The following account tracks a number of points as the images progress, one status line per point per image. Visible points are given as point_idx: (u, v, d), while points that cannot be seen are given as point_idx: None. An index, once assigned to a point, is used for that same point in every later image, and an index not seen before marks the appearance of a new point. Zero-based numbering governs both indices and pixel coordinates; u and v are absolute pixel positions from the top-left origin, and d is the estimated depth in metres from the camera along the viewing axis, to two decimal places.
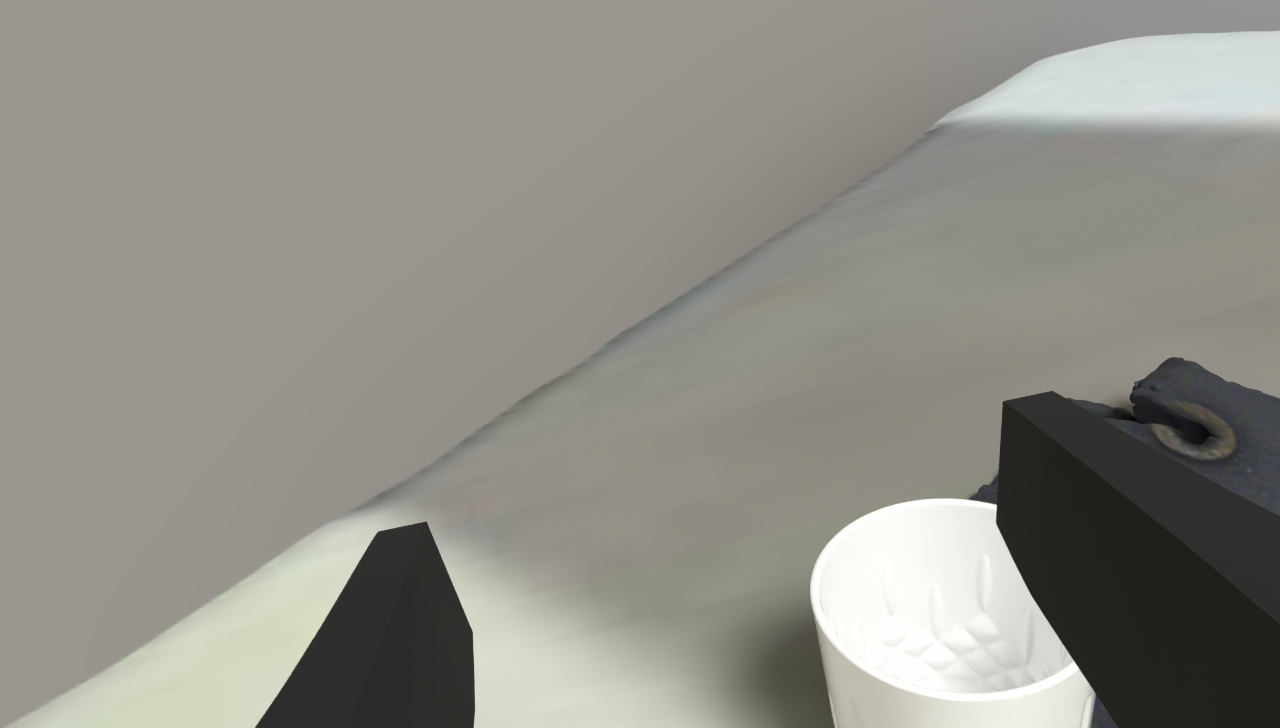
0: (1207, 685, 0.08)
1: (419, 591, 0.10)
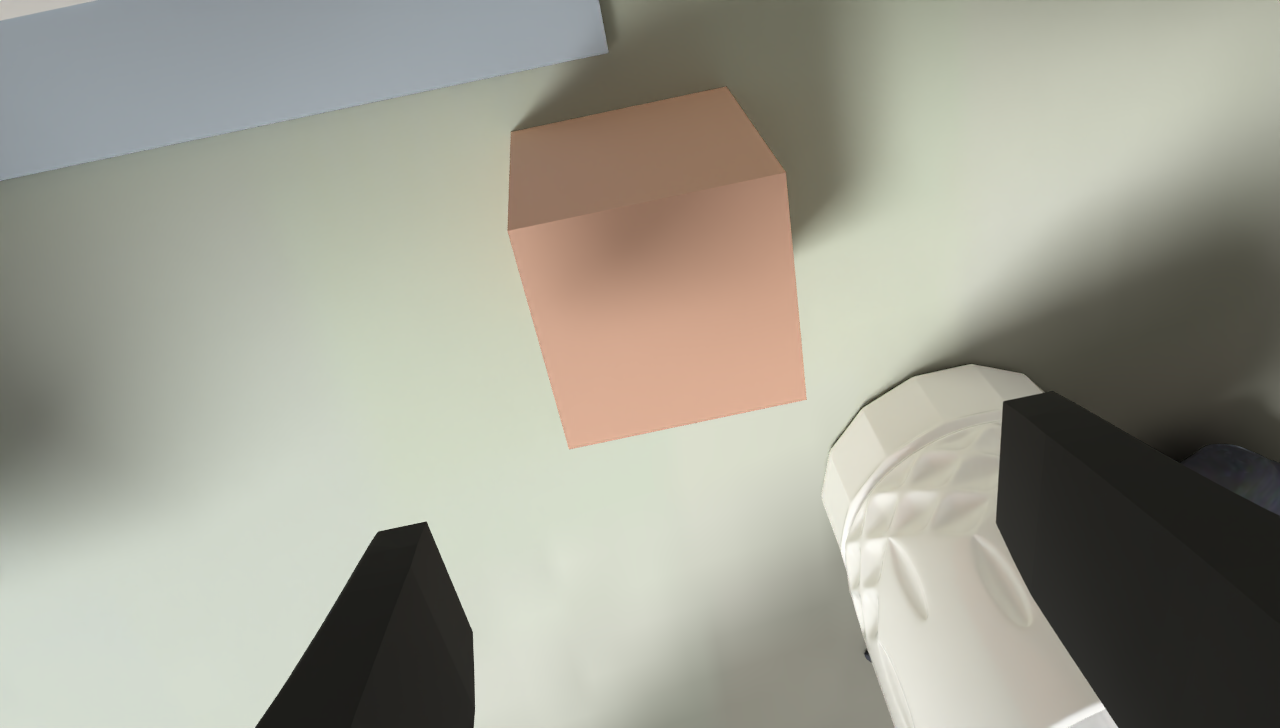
0: (1207, 685, 0.08)
1: (419, 591, 0.10)
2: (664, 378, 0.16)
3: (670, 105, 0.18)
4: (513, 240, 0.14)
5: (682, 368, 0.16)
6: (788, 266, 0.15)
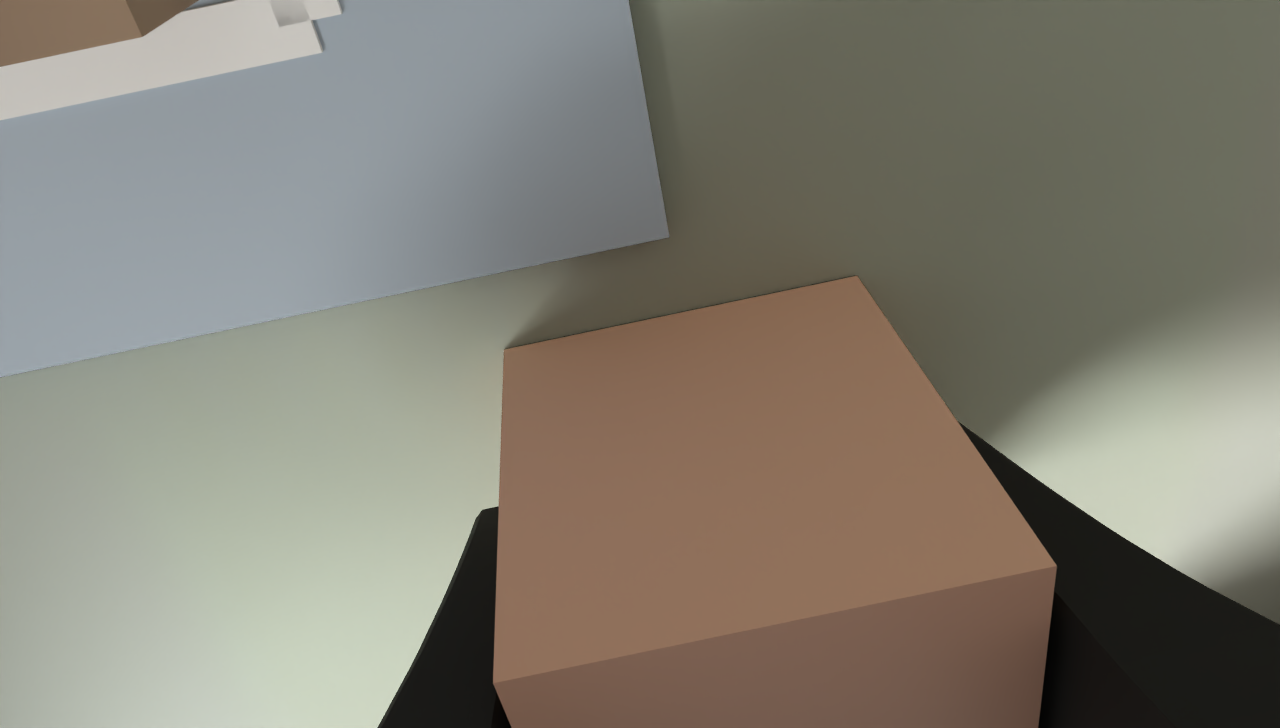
0: (1065, 714, 0.08)
1: None
2: None
3: (770, 316, 0.11)
4: (505, 697, 0.07)
5: None
6: (1031, 701, 0.08)
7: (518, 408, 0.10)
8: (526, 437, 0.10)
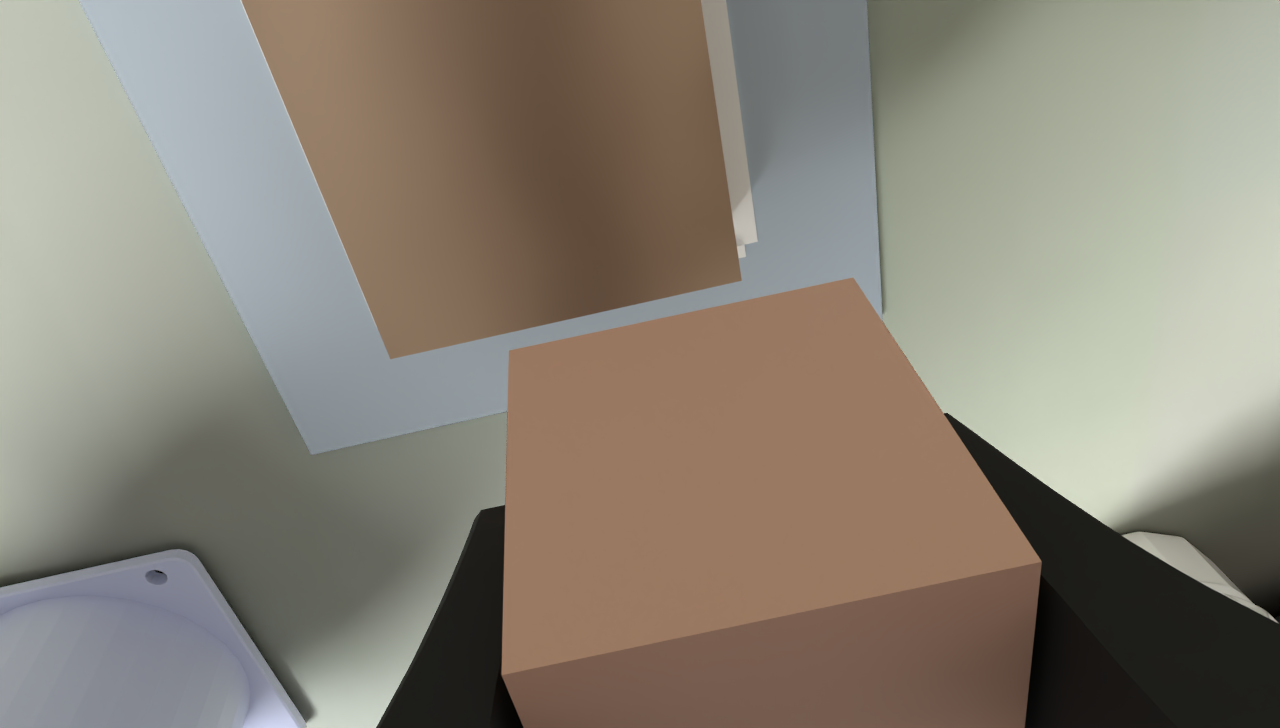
0: (1065, 714, 0.08)
1: None
2: None
3: (768, 318, 0.11)
4: (513, 688, 0.07)
5: None
6: (1018, 691, 0.08)
7: (523, 408, 0.10)
8: (531, 437, 0.10)
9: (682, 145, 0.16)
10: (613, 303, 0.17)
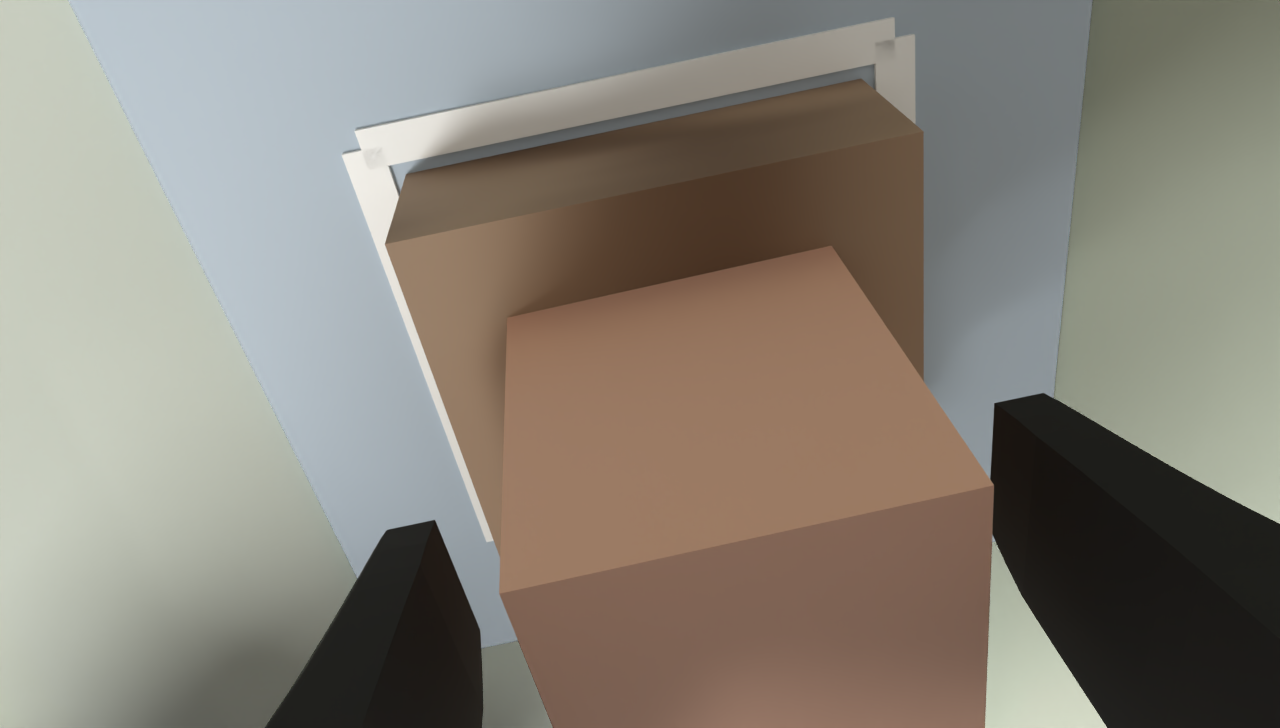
0: (1195, 687, 0.08)
1: (428, 589, 0.10)
2: None
3: (750, 283, 0.12)
4: (509, 607, 0.08)
5: None
6: (979, 613, 0.09)
7: (520, 367, 0.11)
8: (527, 392, 0.11)
9: None
10: None
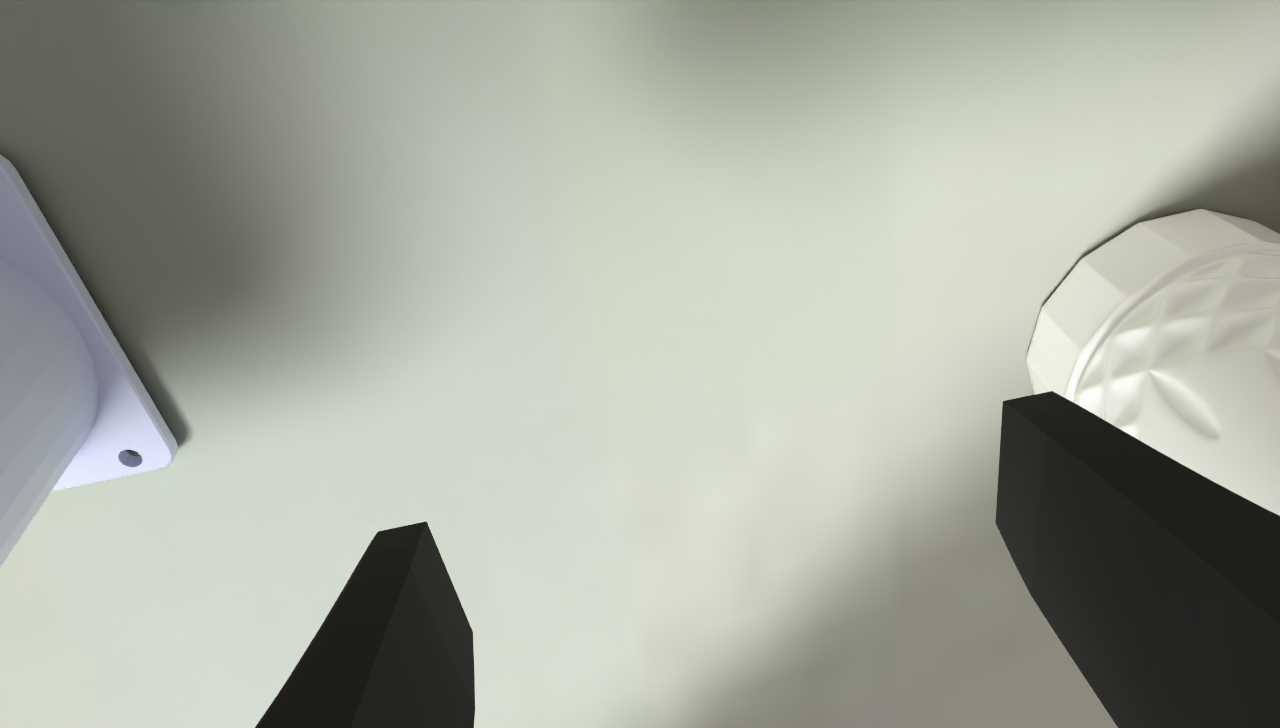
0: (1207, 685, 0.08)
1: (419, 591, 0.10)
2: None
3: None
4: None
5: None
6: None
7: None
8: None
9: None
10: None
